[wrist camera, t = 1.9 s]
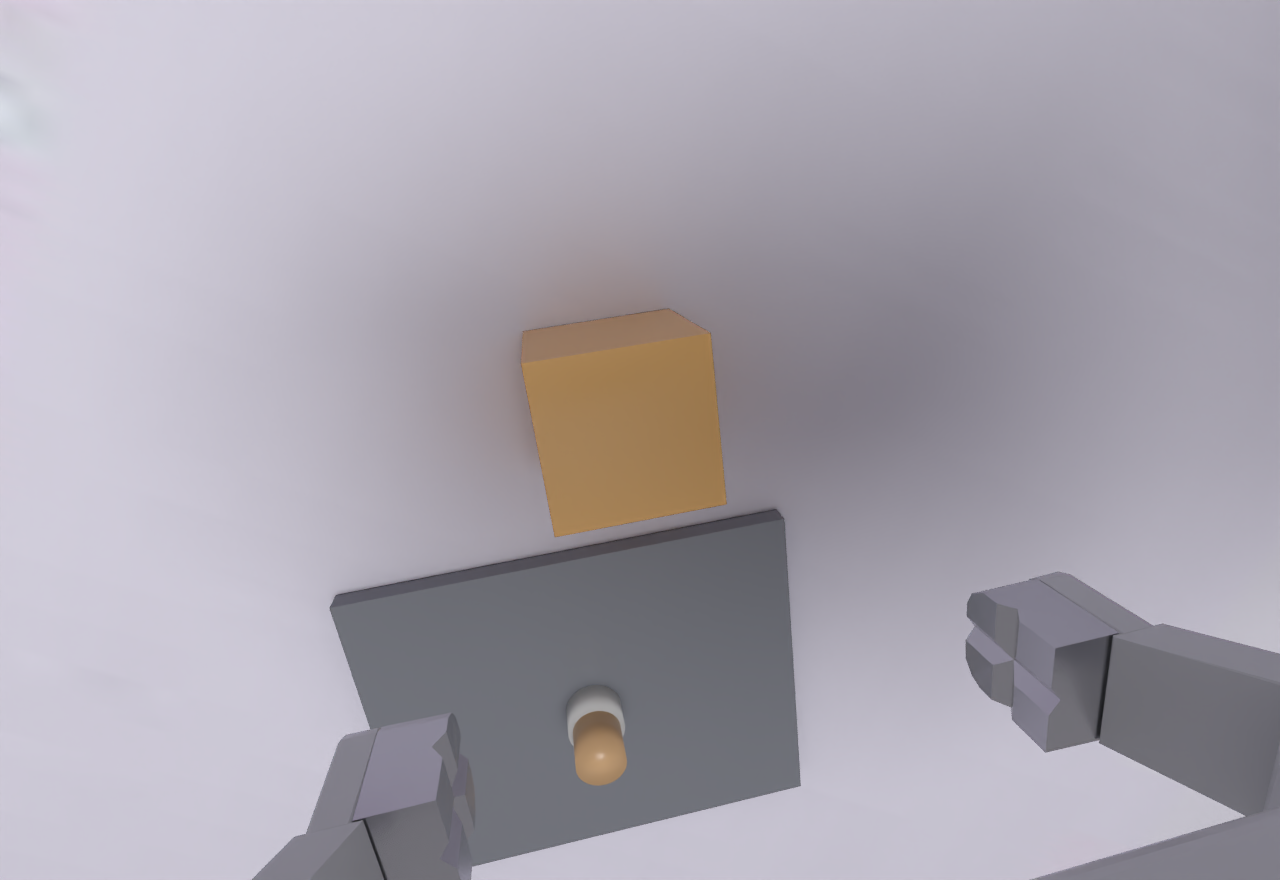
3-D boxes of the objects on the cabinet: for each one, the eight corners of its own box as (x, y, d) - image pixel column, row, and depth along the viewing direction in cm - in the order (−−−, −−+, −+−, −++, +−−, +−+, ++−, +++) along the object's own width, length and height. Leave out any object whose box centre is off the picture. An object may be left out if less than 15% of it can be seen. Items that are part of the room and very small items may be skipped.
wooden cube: (669, 308, 27) (710, 333, 20) (684, 444, 29) (726, 504, 22) (522, 331, 26) (520, 363, 20) (549, 469, 28) (554, 537, 22)
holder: (776, 509, 30) (816, 555, 26) (793, 771, 36) (829, 844, 31) (336, 595, 28) (302, 660, 24) (424, 860, 33) (409, 952, 29)
